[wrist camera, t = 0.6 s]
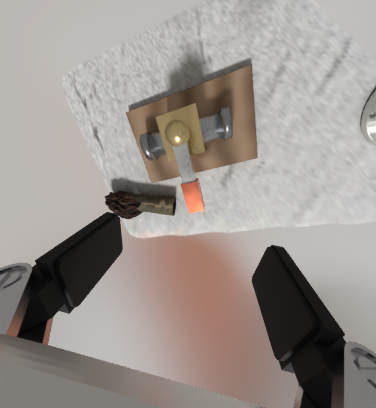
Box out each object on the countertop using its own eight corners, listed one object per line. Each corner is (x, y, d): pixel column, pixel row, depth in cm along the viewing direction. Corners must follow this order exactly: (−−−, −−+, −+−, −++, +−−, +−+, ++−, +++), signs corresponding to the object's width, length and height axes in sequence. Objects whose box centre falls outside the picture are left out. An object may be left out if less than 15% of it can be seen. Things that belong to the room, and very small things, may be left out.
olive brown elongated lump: (176, 194, 35) (171, 203, 30) (176, 216, 38) (171, 228, 33) (112, 187, 37) (97, 194, 32) (116, 209, 40) (103, 219, 35)
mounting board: (249, 69, 24) (251, 64, 22) (255, 157, 29) (257, 158, 28) (129, 114, 29) (125, 112, 28) (153, 181, 34) (151, 183, 33)
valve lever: (167, 126, 21) (161, 123, 18) (187, 120, 20) (184, 116, 17) (189, 205, 26) (187, 213, 23) (206, 202, 25) (206, 210, 22)
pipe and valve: (225, 104, 25) (231, 90, 18) (230, 143, 28) (237, 143, 21) (146, 130, 29) (127, 127, 22) (156, 163, 31) (143, 168, 25)
